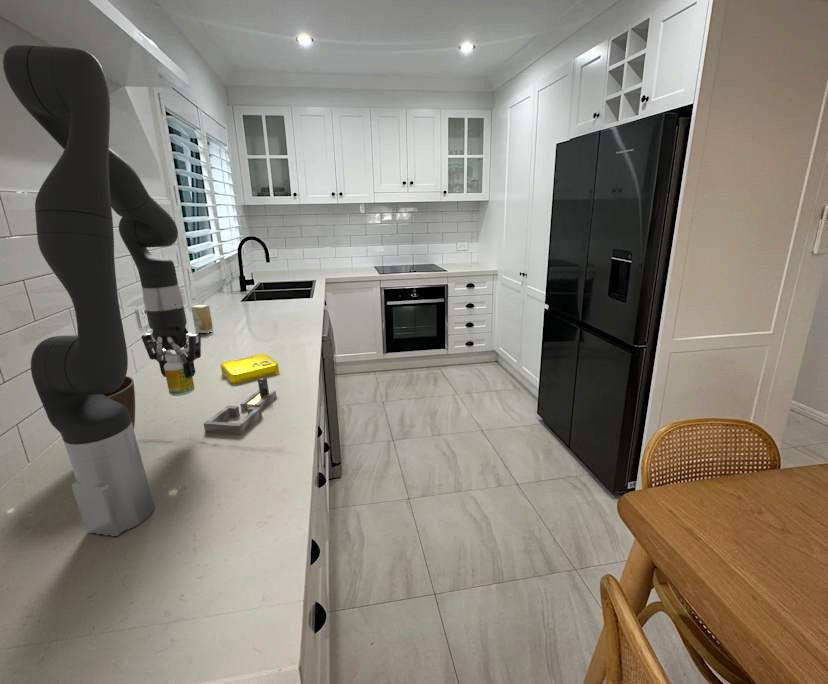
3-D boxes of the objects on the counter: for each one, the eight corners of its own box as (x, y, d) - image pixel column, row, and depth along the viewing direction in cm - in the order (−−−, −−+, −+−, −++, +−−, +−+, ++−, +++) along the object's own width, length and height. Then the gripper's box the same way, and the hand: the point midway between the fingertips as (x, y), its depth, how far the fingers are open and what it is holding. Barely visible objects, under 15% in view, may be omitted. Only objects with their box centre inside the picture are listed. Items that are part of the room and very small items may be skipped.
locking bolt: (255, 410, 111) (252, 389, 109) (247, 409, 112) (243, 389, 110) (271, 396, 119) (268, 377, 117) (263, 396, 119) (260, 377, 118)
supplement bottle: (184, 397, 98) (176, 357, 96) (164, 396, 100) (155, 356, 97) (199, 388, 104) (192, 350, 101) (180, 387, 105) (172, 349, 102)
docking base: (245, 442, 98) (243, 429, 97) (195, 438, 100) (192, 425, 99) (293, 397, 120) (291, 386, 119) (251, 395, 123) (249, 384, 122)
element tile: (266, 363, 149) (264, 351, 147) (281, 376, 137) (279, 362, 136) (221, 374, 140) (218, 361, 139) (233, 388, 129) (230, 374, 127)
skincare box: (195, 333, 188) (189, 306, 184) (202, 330, 192) (197, 304, 188) (207, 334, 186) (202, 307, 183) (214, 331, 190) (209, 304, 186)
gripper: (123, 309, 93) (140, 381, 98) (181, 309, 91) (195, 383, 96) (149, 302, 100) (164, 369, 105) (203, 302, 98) (216, 371, 103)
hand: (179, 376), depth 100 cm, fingers closed on supplement bottle, 5 cm apart
